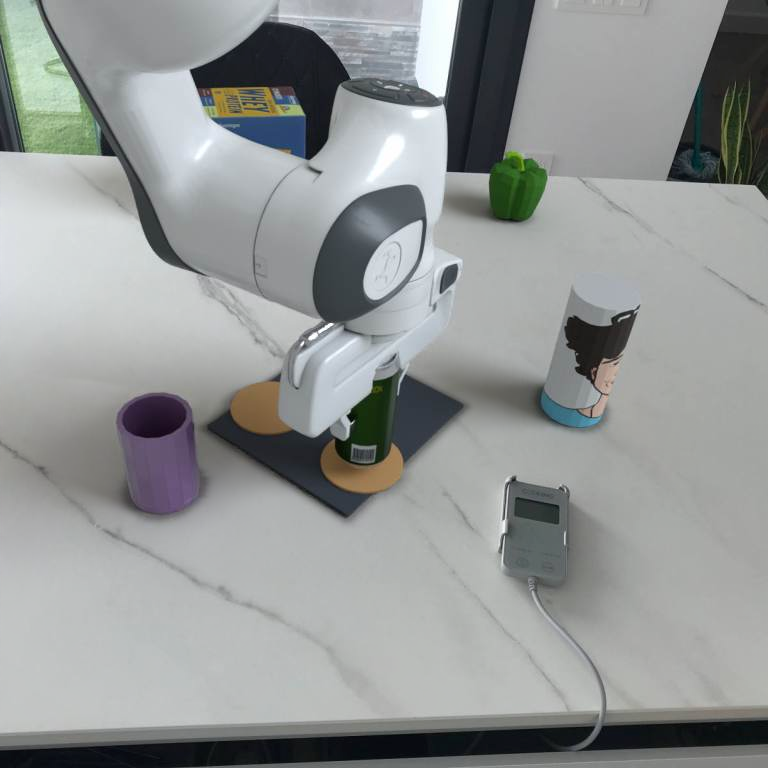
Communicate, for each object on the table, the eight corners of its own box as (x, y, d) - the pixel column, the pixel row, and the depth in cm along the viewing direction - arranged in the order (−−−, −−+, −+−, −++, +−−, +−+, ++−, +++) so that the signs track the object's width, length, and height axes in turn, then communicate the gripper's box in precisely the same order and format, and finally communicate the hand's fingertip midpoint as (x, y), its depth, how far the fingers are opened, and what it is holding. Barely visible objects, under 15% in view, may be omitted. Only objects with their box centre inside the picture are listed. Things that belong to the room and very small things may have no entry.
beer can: (395, 469, 72) (407, 369, 65) (338, 473, 71) (344, 372, 64) (384, 429, 76) (395, 331, 69) (330, 433, 75) (335, 334, 68)
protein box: (191, 192, 116) (181, 87, 106) (293, 187, 120) (293, 85, 110) (197, 226, 108) (187, 116, 98) (306, 219, 112) (307, 113, 102)
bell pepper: (538, 205, 121) (551, 143, 115) (538, 230, 115) (553, 166, 109) (484, 198, 122) (495, 136, 115) (482, 222, 115) (493, 158, 109)
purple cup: (162, 525, 68) (150, 453, 62) (116, 491, 70) (100, 418, 65) (214, 485, 72) (207, 413, 66) (168, 454, 74) (158, 382, 69)
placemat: (356, 523, 70) (356, 518, 69) (199, 423, 78) (199, 418, 78) (471, 411, 83) (472, 406, 82) (326, 335, 91) (326, 331, 90)
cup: (588, 436, 81) (628, 319, 71) (530, 409, 84) (561, 292, 74) (611, 403, 85) (652, 288, 76) (555, 378, 88) (588, 264, 78)
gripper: (323, 363, 54) (318, 496, 63) (474, 254, 67) (452, 376, 76) (256, 327, 57) (261, 460, 65) (414, 229, 70) (400, 350, 79)
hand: (365, 414), depth 71 cm, fingers closed on beer can, 5 cm apart
